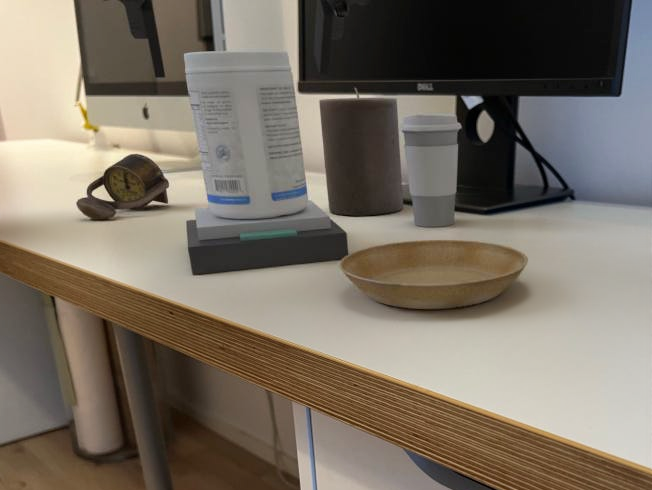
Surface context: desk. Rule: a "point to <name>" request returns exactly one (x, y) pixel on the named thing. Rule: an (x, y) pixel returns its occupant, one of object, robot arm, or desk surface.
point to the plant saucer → (433, 272)
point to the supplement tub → (247, 132)
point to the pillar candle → (362, 155)
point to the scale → (263, 240)
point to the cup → (432, 166)
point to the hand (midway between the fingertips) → (242, 65)
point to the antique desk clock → (126, 187)
